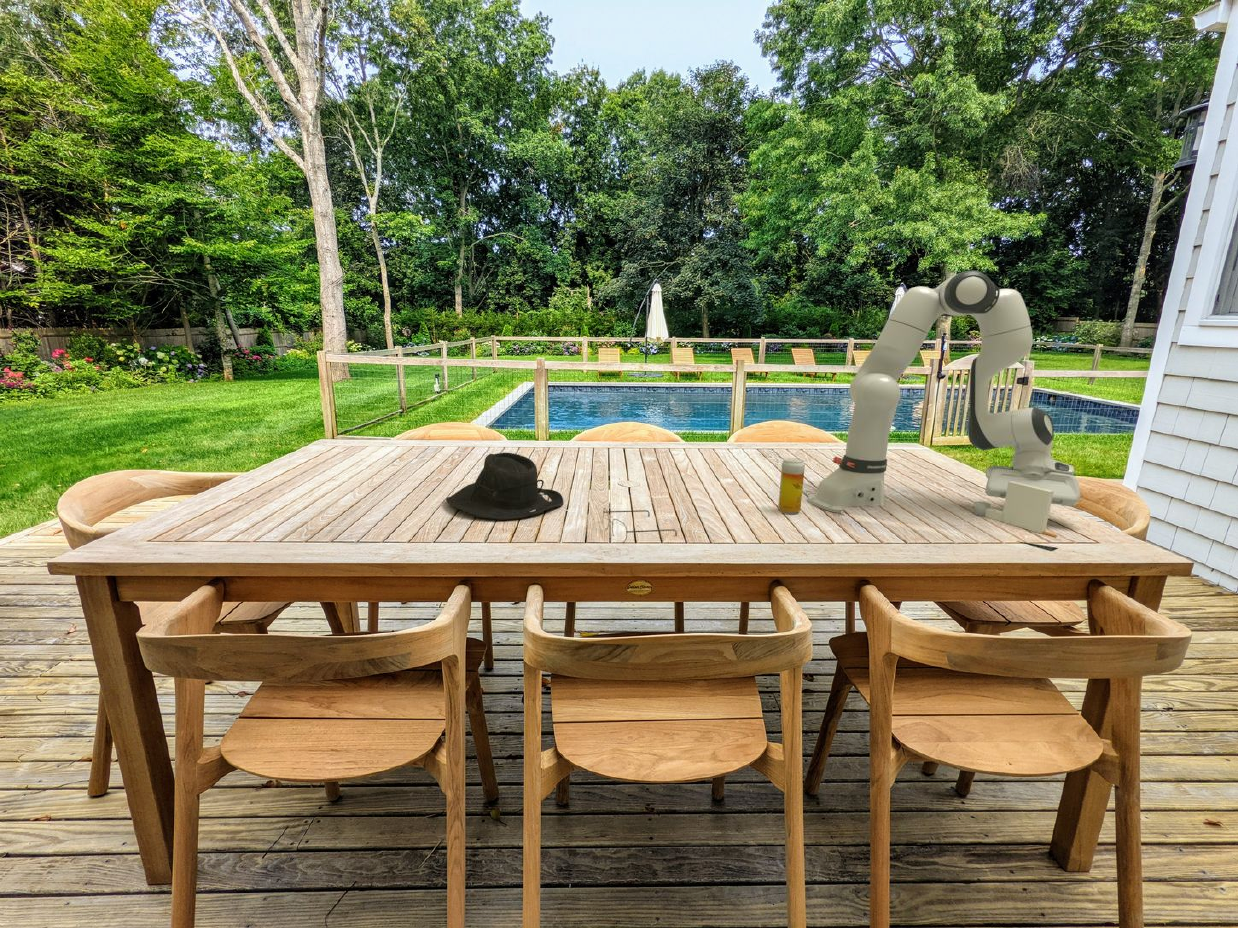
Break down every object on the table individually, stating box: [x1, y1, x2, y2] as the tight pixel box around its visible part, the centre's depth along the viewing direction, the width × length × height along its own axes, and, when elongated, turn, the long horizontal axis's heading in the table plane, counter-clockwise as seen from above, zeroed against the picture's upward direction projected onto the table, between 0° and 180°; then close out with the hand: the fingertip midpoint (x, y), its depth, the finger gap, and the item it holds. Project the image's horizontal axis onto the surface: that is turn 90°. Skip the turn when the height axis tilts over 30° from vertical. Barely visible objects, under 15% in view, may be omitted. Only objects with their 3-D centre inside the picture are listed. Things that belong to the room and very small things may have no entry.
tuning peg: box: [973, 481, 1058, 538], centre depth 146 cm, size 21×4×11 cm, turn 23°
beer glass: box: [777, 457, 806, 515], centre depth 157 cm, size 6×6×15 cm
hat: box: [445, 452, 564, 521], centre depth 161 cm, size 32×35×14 cm
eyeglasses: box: [602, 507, 678, 543], centre depth 141 cm, size 16×15×5 cm
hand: (1030, 513), depth 145 cm, fingers closed
